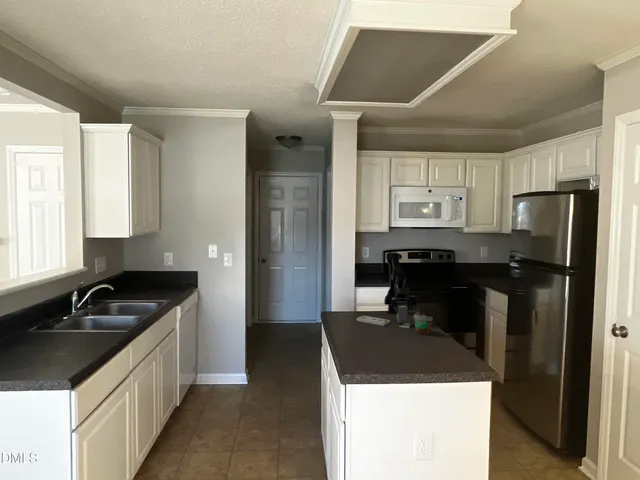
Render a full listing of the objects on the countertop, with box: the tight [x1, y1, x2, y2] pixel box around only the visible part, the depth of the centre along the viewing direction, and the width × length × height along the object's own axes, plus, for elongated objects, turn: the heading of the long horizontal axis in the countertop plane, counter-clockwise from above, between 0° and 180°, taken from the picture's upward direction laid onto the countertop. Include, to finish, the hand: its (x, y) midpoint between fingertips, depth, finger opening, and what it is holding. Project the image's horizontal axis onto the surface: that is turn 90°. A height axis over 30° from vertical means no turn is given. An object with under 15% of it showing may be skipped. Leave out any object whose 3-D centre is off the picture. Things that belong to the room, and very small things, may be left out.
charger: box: [396, 304, 409, 324], centre depth 253 cm, size 5×5×9 cm
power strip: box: [356, 315, 391, 326], centre depth 257 cm, size 18×8×3 cm, turn 53°
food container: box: [413, 311, 433, 336], centre depth 237 cm, size 12×6×10 cm, turn 25°
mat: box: [395, 322, 411, 329], centre depth 253 cm, size 9×9×1 cm
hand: (402, 312), depth 251 cm, fingers closed on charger, 5 cm apart
